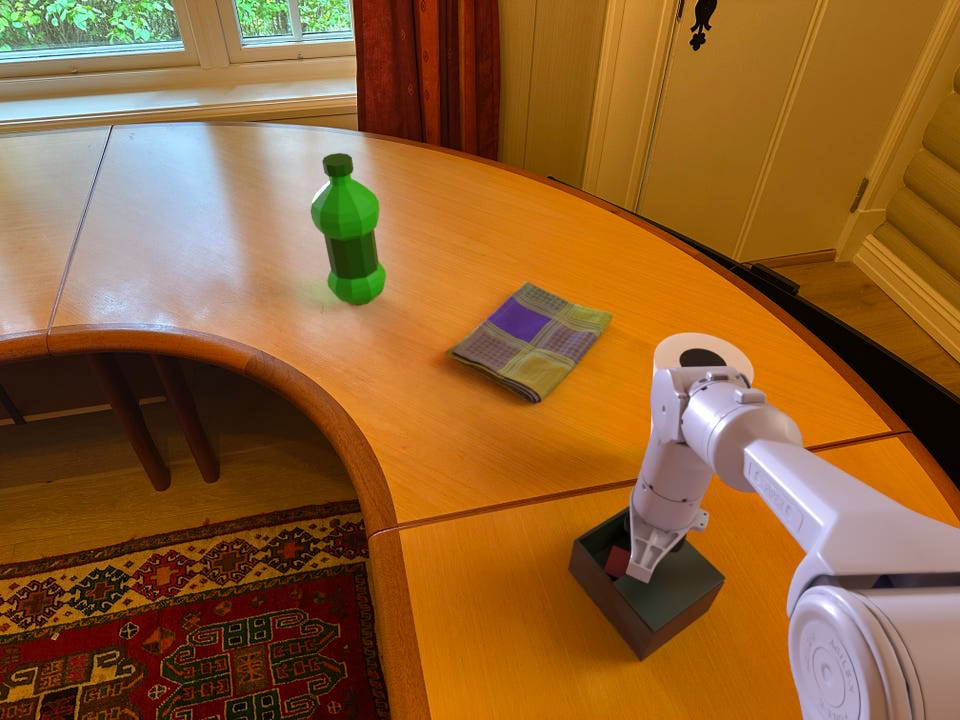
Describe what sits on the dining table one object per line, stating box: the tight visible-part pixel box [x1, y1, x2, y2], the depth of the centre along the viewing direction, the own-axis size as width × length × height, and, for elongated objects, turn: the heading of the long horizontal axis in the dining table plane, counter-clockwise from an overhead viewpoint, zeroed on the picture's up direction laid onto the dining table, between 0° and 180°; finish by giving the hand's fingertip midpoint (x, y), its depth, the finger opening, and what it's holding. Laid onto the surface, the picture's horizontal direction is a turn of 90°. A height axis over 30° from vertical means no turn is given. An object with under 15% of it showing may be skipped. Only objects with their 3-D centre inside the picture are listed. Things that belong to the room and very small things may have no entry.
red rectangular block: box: [603, 545, 631, 582], centre depth 65 cm, size 8×4×3 cm, turn 62°
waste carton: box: [567, 505, 725, 662], centre depth 64 cm, size 12×10×6 cm
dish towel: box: [444, 281, 613, 405], centre depth 96 cm, size 18×24×3 cm
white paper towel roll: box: [650, 332, 755, 434], centre depth 73 cm, size 11×11×18 cm
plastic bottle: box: [310, 152, 387, 307], centre depth 97 cm, size 10×10×25 cm
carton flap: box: [613, 538, 727, 632], centre depth 60 cm, size 6×10×1 cm, turn 122°
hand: (645, 554), depth 62 cm, fingers closed
